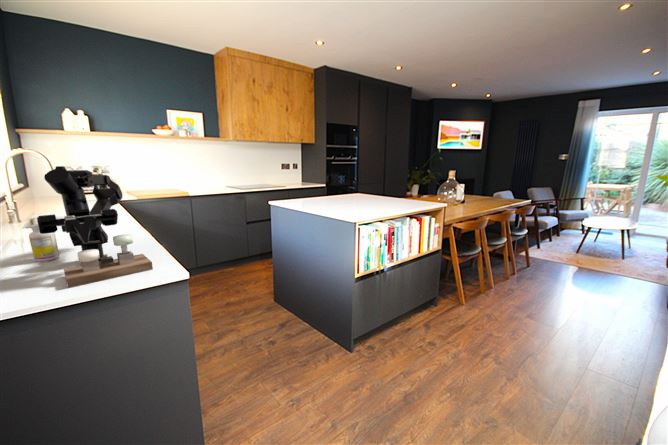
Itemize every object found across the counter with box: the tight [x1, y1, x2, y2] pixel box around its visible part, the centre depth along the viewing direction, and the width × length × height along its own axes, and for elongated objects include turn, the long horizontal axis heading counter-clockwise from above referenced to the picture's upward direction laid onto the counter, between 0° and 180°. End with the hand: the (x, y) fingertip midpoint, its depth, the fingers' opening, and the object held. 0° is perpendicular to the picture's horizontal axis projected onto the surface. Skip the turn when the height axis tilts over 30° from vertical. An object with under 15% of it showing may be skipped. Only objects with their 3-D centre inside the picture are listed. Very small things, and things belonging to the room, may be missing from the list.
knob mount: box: [63, 250, 154, 289], centre depth 95 cm, size 12×21×6 cm, turn 134°
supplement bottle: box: [28, 223, 60, 262], centre depth 107 cm, size 7×7×13 cm
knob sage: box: [112, 234, 134, 254], centre depth 96 cm, size 5×5×6 cm
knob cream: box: [76, 249, 100, 263], centre depth 91 cm, size 5×5×6 cm
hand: (86, 242), depth 90 cm, fingers closed
